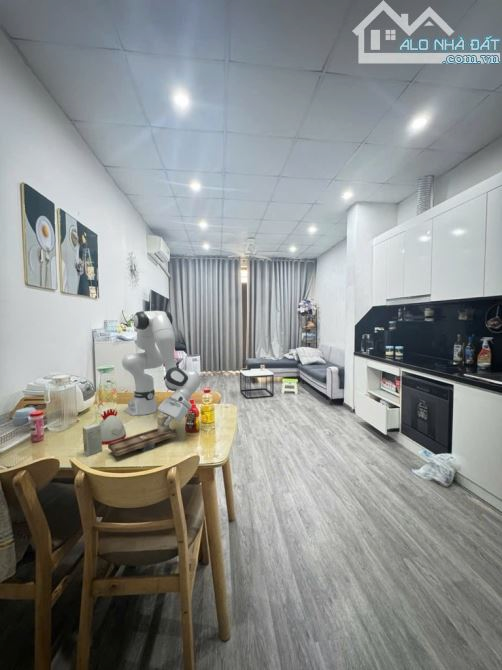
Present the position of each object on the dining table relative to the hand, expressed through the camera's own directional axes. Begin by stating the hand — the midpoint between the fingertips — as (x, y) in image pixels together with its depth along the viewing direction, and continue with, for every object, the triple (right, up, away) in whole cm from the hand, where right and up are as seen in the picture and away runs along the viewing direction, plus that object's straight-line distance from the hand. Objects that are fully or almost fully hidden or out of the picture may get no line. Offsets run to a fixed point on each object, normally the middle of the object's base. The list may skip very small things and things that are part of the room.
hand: (162, 423), depth 129 cm
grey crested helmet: (-27, -9, +3) cm, 29 cm away
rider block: (+1, -4, +1) cm, 4 cm away
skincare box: (-27, -9, -11) cm, 31 cm away
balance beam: (-6, -9, -6) cm, 12 cm away
